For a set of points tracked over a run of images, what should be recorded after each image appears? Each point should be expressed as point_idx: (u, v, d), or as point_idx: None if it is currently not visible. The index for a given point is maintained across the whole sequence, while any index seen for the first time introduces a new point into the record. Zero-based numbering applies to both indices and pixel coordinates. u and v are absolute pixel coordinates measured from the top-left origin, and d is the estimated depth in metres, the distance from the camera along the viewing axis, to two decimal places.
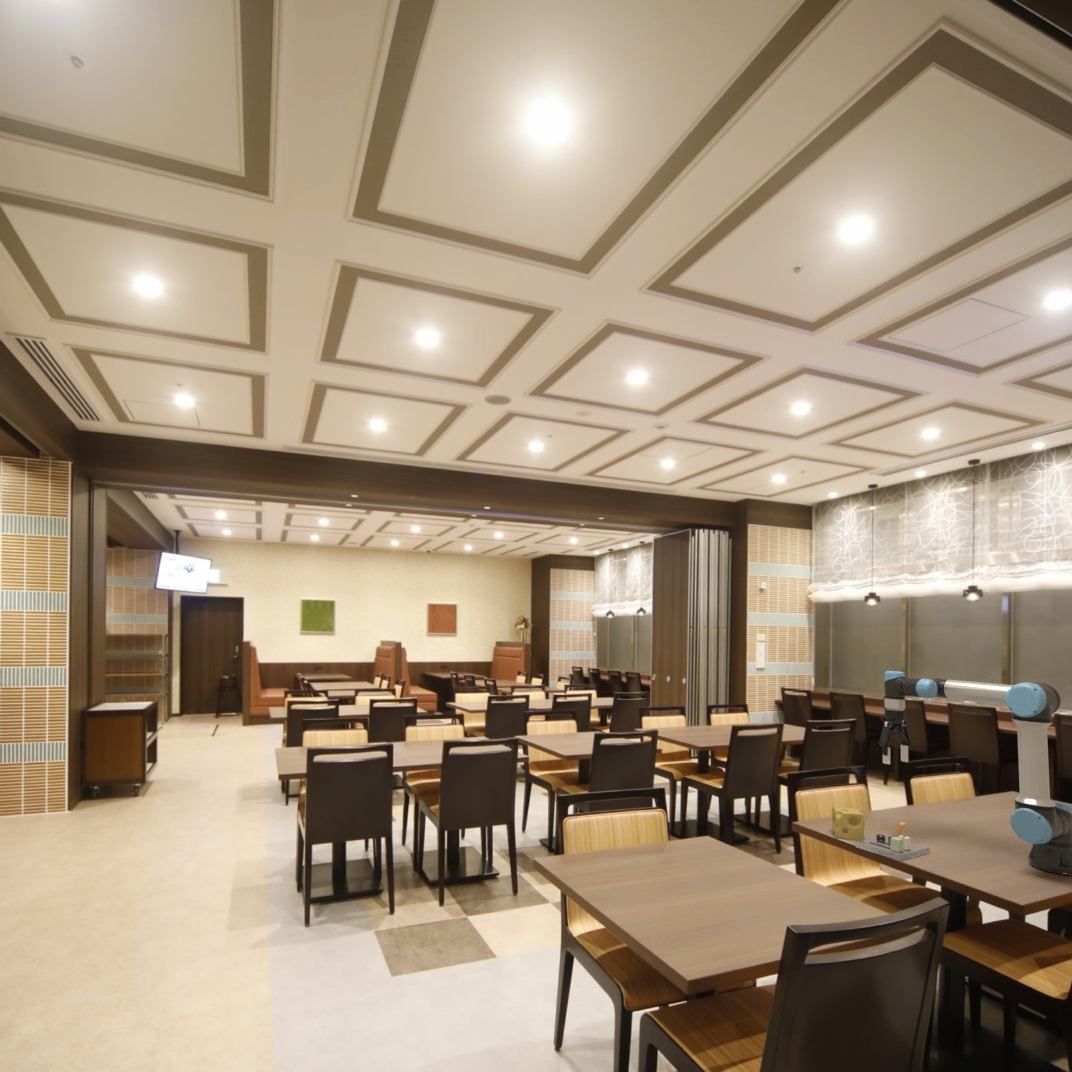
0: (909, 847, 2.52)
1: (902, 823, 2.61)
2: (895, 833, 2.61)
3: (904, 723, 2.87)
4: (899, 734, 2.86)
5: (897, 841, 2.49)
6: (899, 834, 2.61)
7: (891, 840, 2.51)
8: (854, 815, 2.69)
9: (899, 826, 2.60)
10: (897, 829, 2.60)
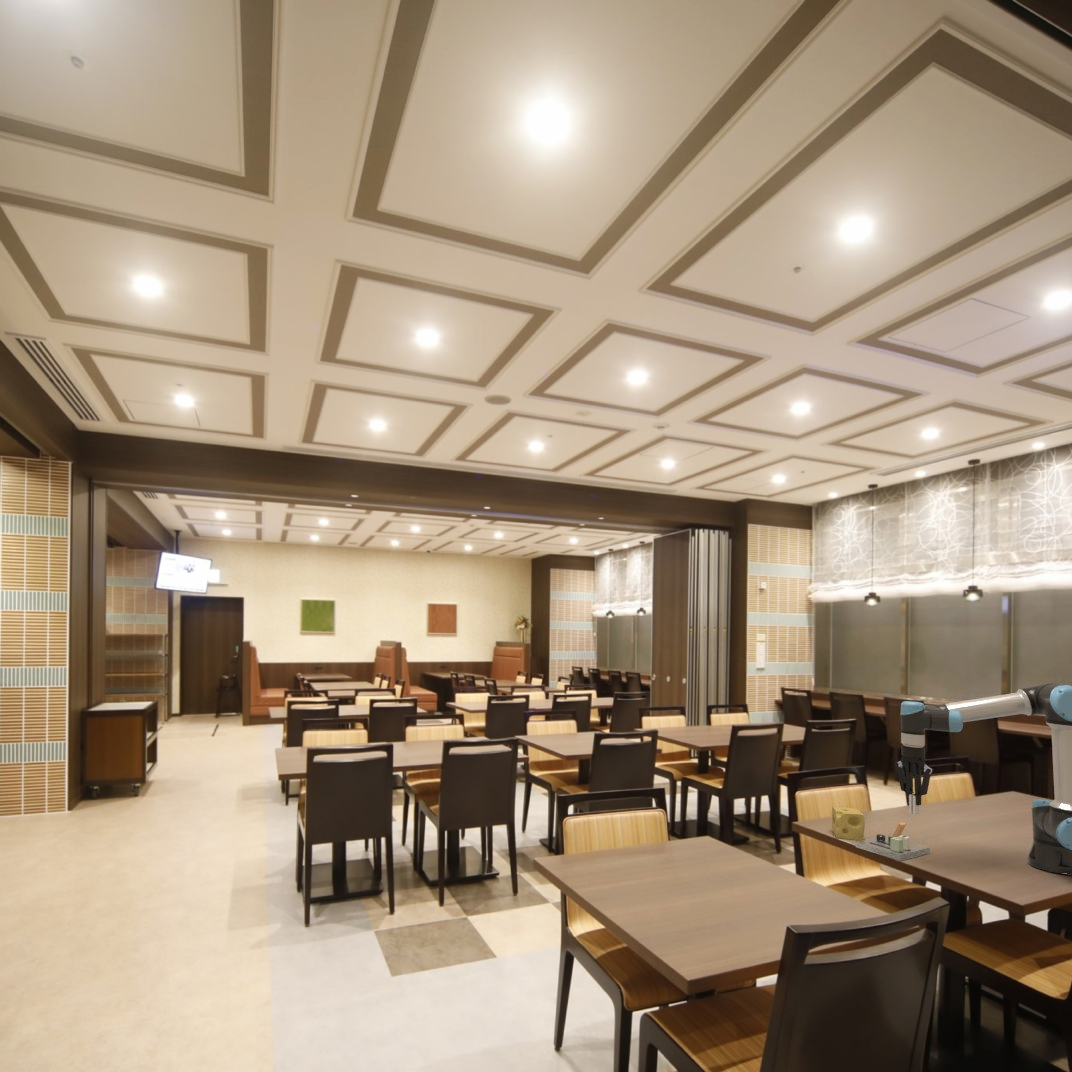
0: (909, 847, 2.52)
1: (902, 823, 2.61)
2: (895, 833, 2.61)
3: None
4: None
5: (897, 841, 2.49)
6: (899, 834, 2.61)
7: (891, 840, 2.51)
8: (854, 815, 2.69)
9: (899, 826, 2.60)
10: (897, 829, 2.60)
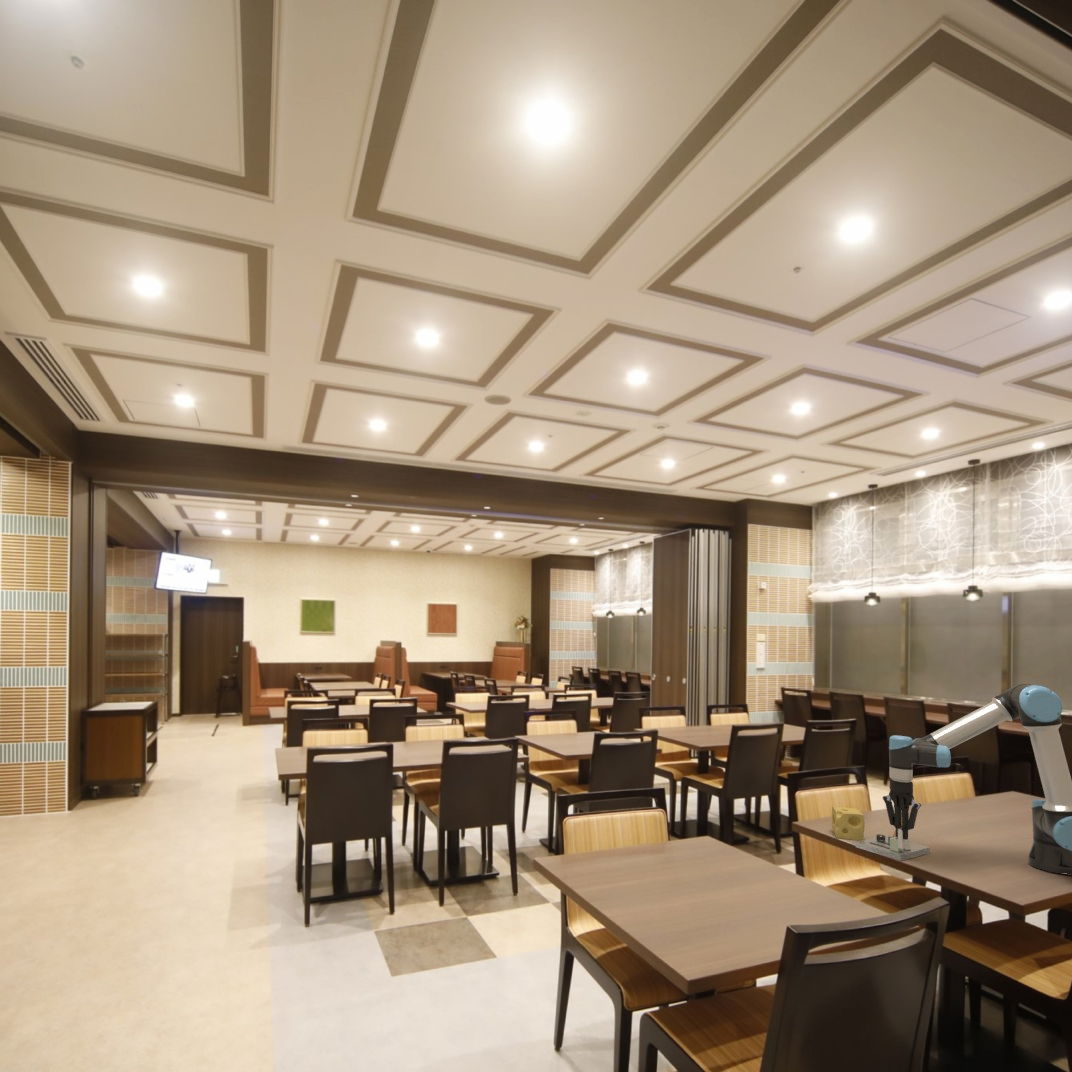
0: (909, 847, 2.52)
1: None
2: (895, 833, 2.61)
3: (914, 804, 2.46)
4: None
5: (896, 841, 2.49)
6: None
7: (890, 840, 2.51)
8: (854, 815, 2.69)
9: None
10: None
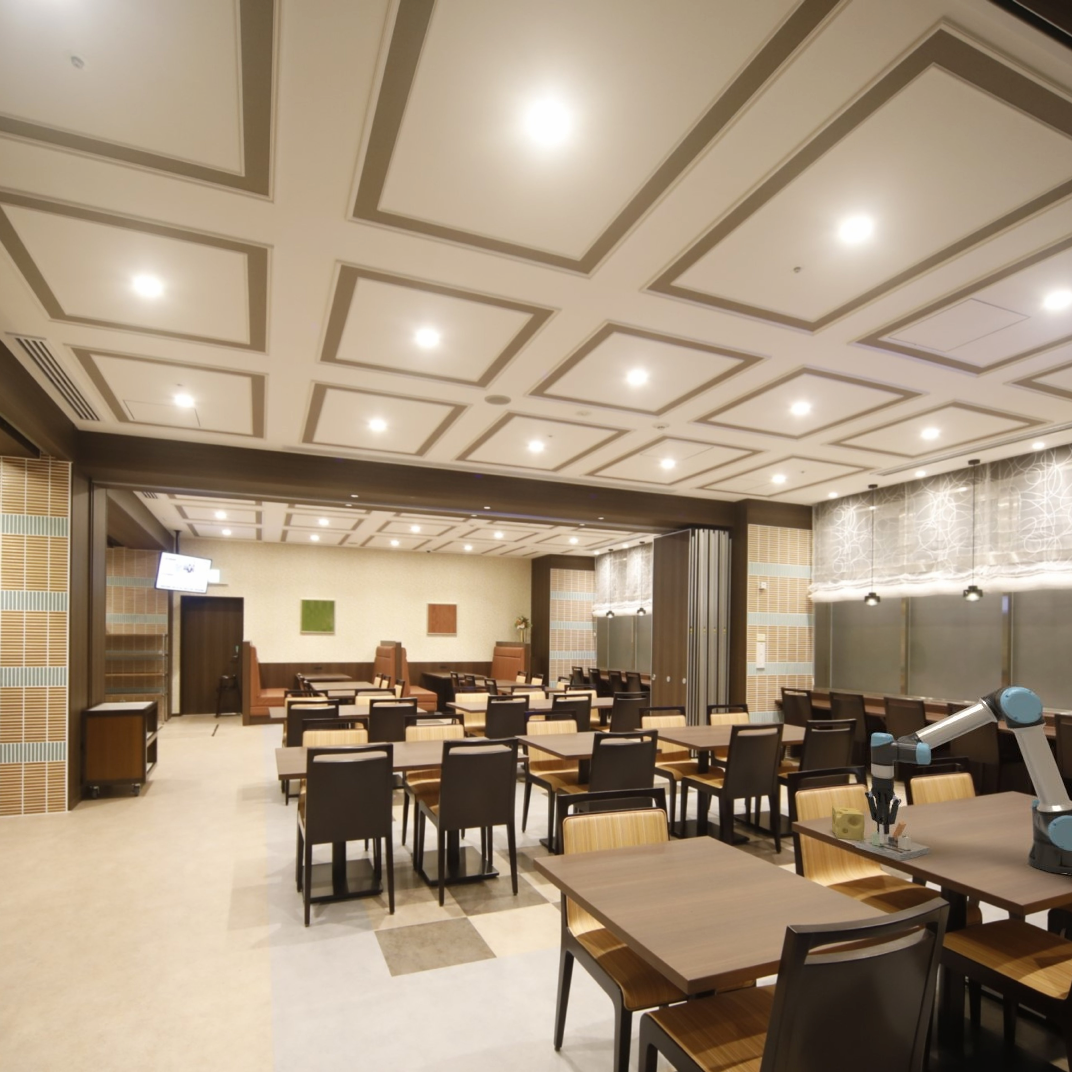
0: (909, 847, 2.52)
1: (902, 823, 2.61)
2: (895, 833, 2.61)
3: (895, 800, 2.52)
4: None
5: (878, 835, 2.55)
6: (899, 834, 2.61)
7: (872, 834, 2.57)
8: (854, 815, 2.69)
9: (899, 826, 2.60)
10: (897, 829, 2.60)
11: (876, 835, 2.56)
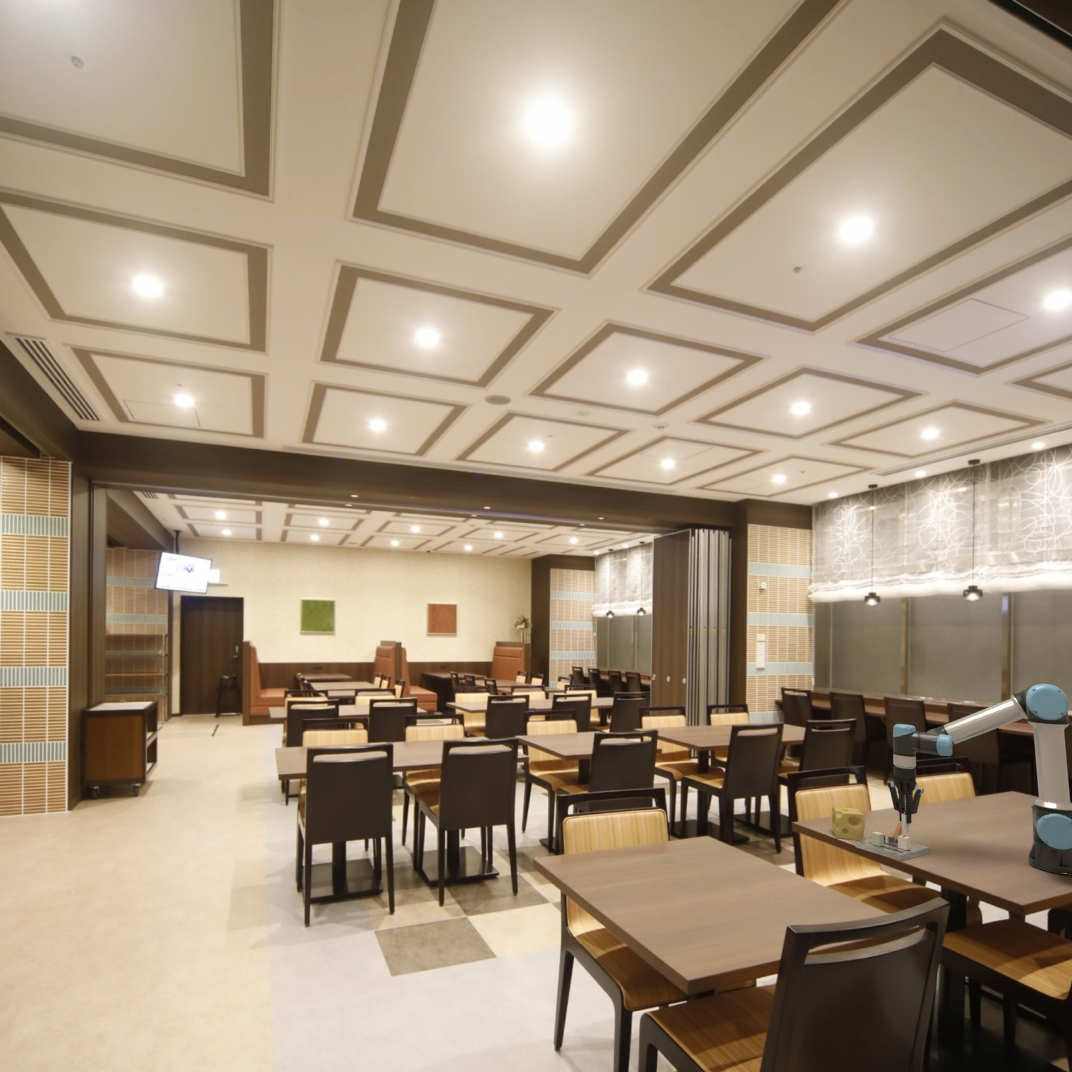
0: (909, 847, 2.52)
1: None
2: (895, 833, 2.61)
3: (917, 790, 2.56)
4: None
5: (878, 835, 2.55)
6: (899, 834, 2.61)
7: (872, 834, 2.57)
8: (854, 815, 2.69)
9: (899, 826, 2.60)
10: (897, 829, 2.60)
11: (876, 835, 2.56)
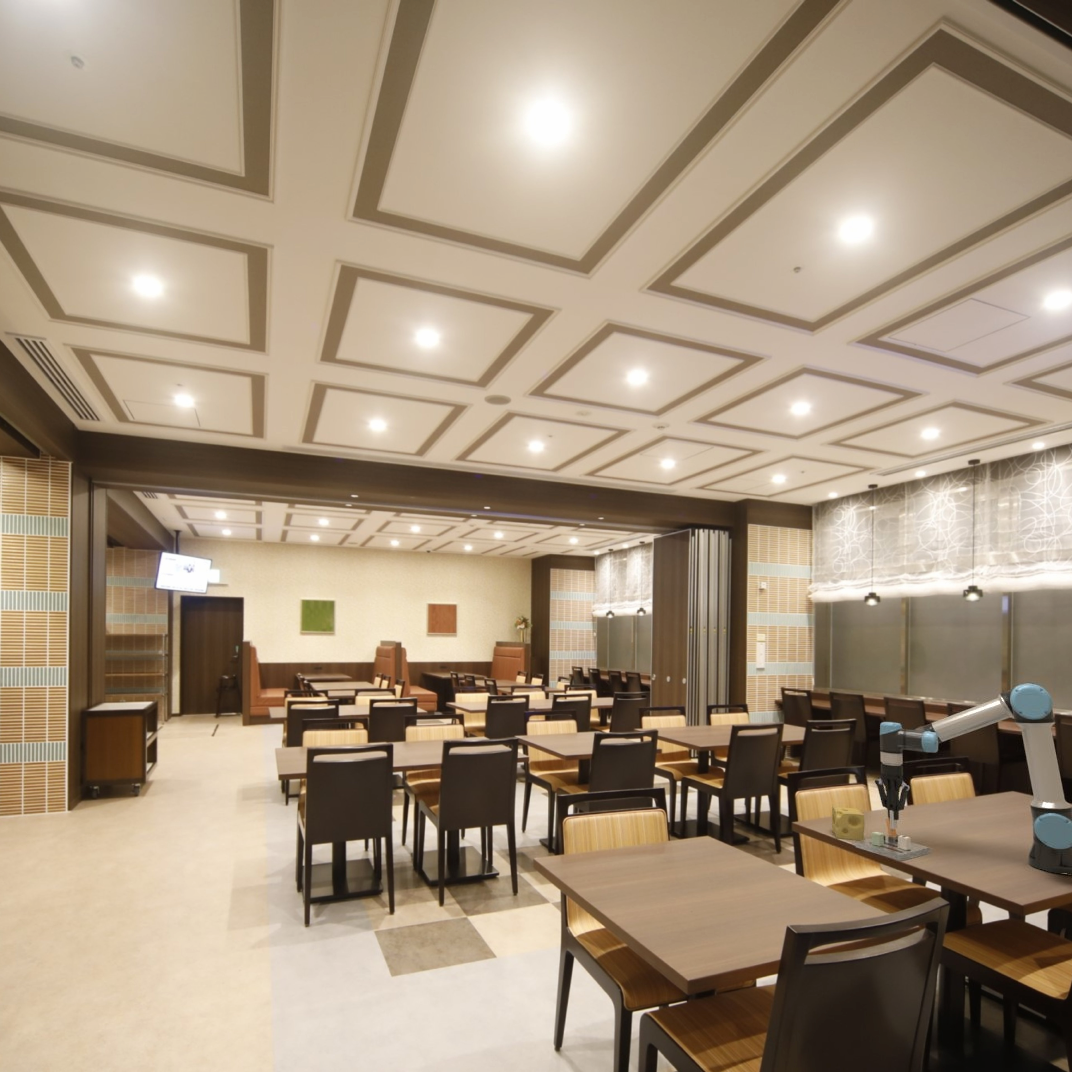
0: (909, 847, 2.52)
1: None
2: (889, 831, 2.63)
3: (904, 787, 2.60)
4: None
5: (878, 835, 2.55)
6: (893, 830, 2.63)
7: (872, 834, 2.57)
8: (854, 815, 2.69)
9: (888, 822, 2.63)
10: (888, 826, 2.63)
11: (876, 835, 2.56)
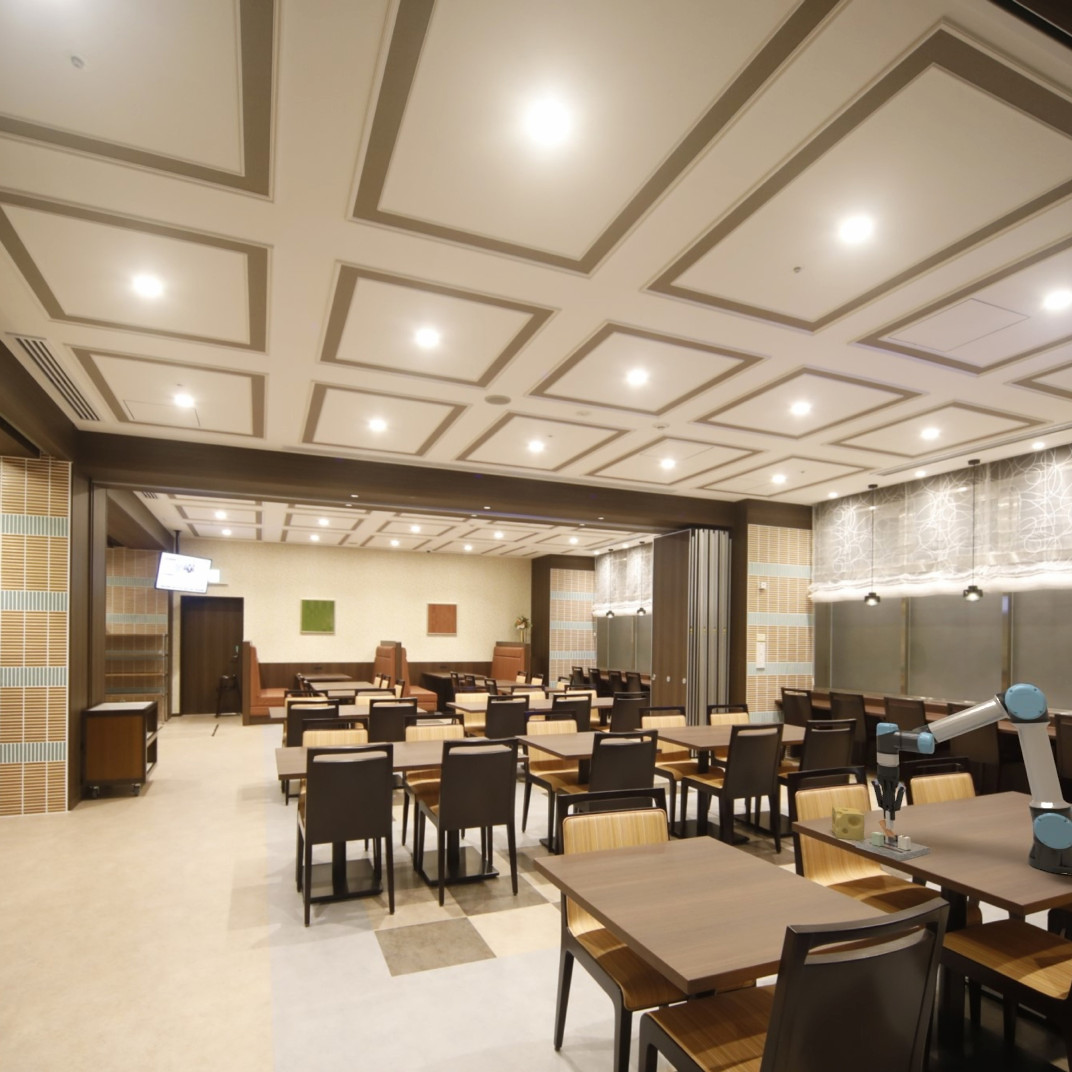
0: (909, 847, 2.52)
1: None
2: (886, 832, 2.64)
3: None
4: None
5: (878, 835, 2.55)
6: (889, 831, 2.64)
7: (872, 834, 2.57)
8: (854, 815, 2.69)
9: (881, 823, 2.65)
10: (883, 827, 2.65)
11: (876, 835, 2.56)
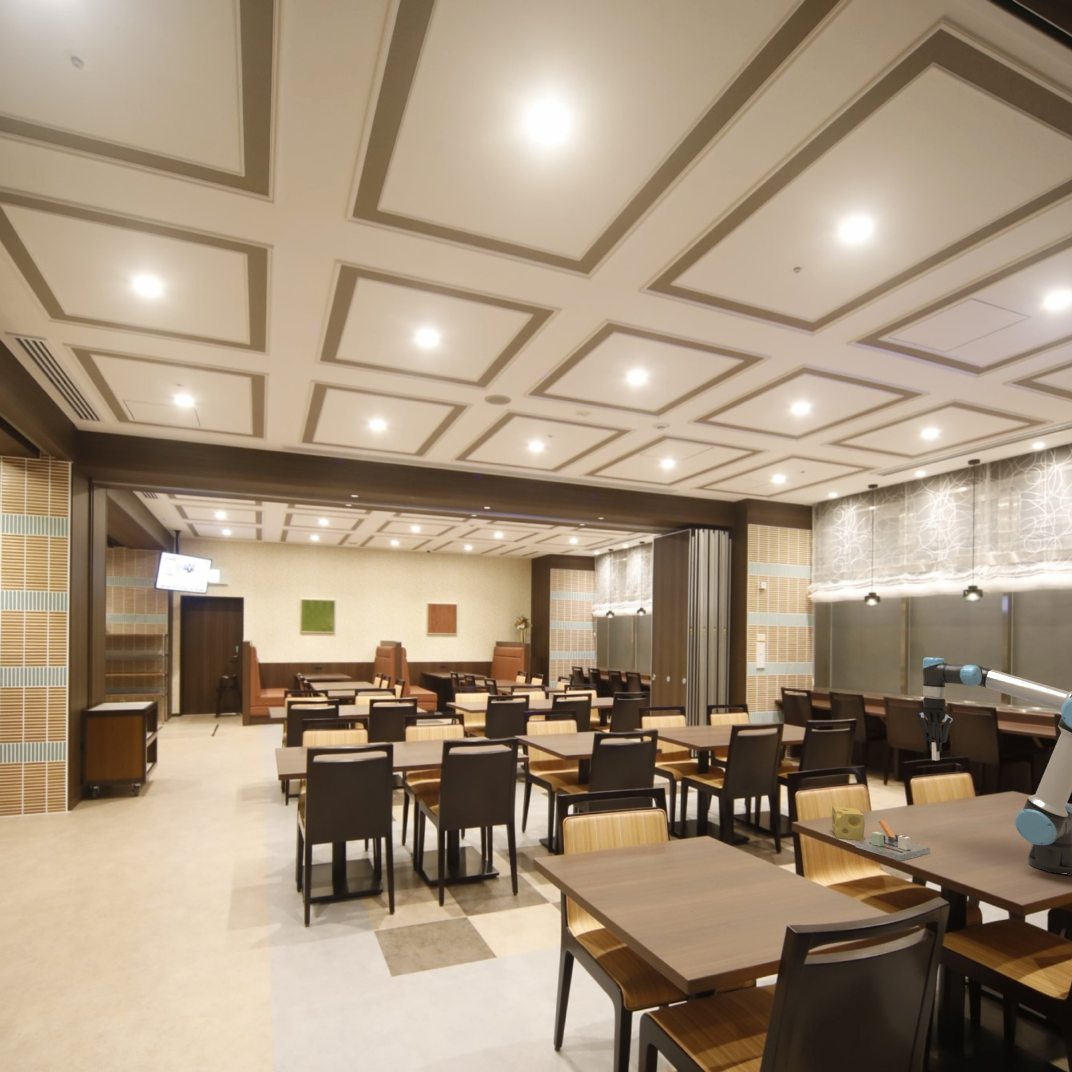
0: (909, 847, 2.52)
1: None
2: (886, 832, 2.64)
3: (947, 719, 2.65)
4: None
5: (878, 835, 2.55)
6: (889, 831, 2.64)
7: (872, 834, 2.57)
8: (854, 815, 2.69)
9: (881, 823, 2.66)
10: (883, 827, 2.65)
11: (876, 835, 2.56)
